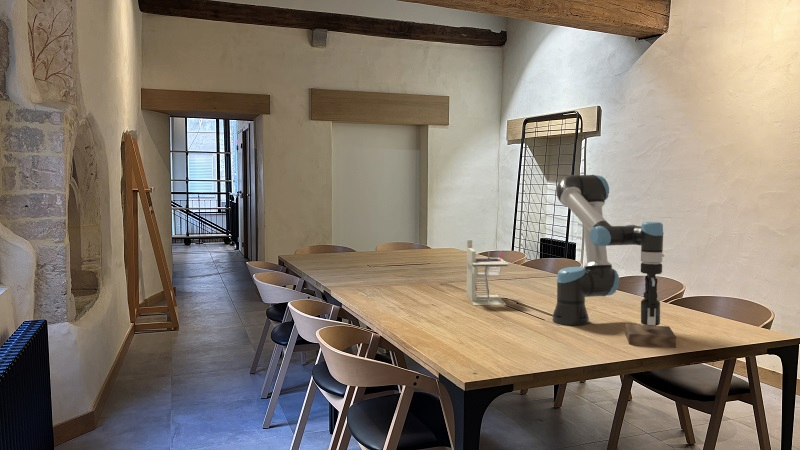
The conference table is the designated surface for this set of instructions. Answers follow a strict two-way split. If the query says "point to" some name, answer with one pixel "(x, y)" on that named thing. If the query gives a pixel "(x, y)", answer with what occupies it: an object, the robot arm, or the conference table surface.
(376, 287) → the conference table surface
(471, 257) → the white ladder tower
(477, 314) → the conference table surface
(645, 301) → the supplement bottle
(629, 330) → the walnut base
